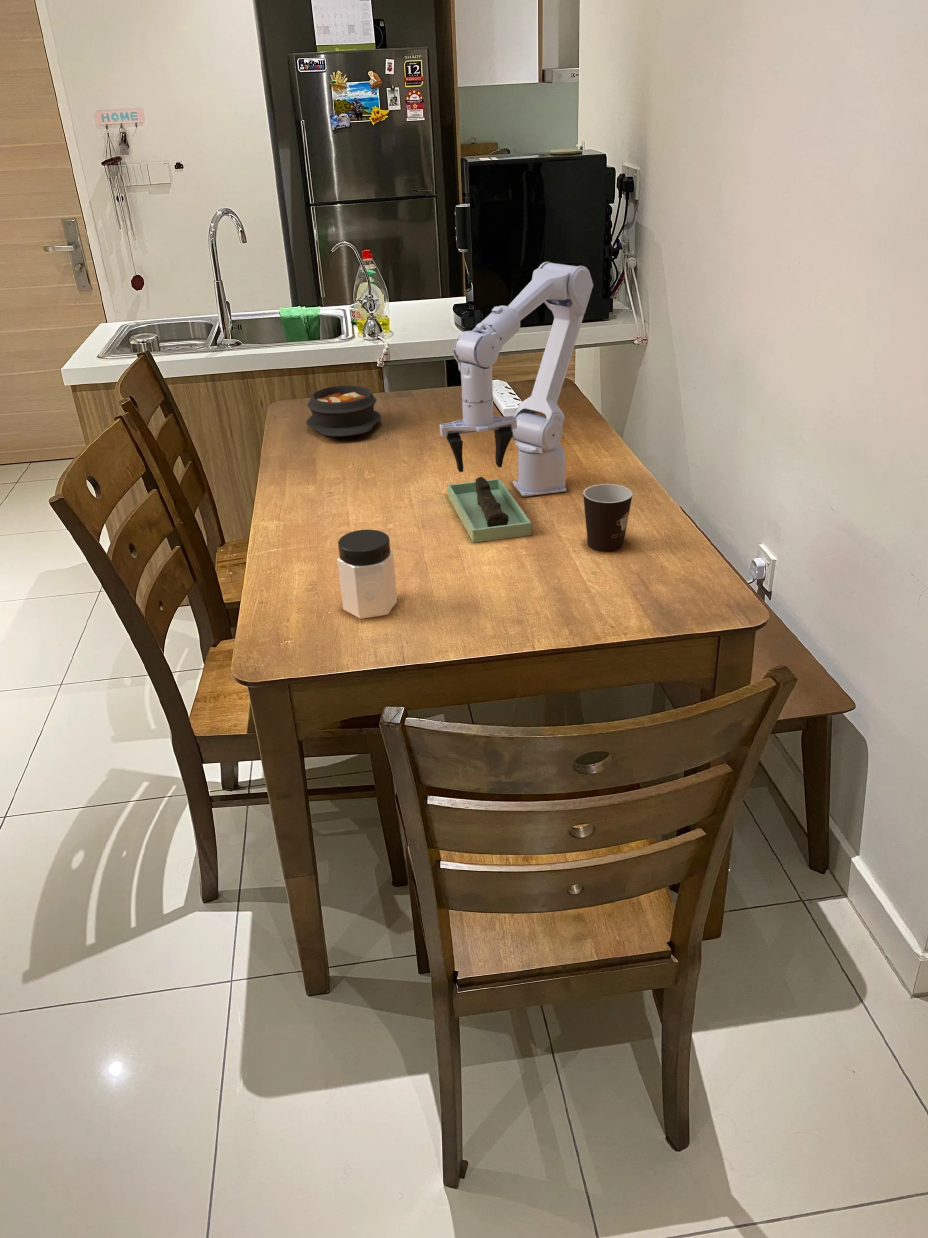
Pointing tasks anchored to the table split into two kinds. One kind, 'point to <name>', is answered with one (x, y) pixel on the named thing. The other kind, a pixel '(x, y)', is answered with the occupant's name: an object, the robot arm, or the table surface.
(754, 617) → the table surface
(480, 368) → the robot arm
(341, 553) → the jar
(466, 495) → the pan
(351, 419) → the casserole
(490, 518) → the hand tool
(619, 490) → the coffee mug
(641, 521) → the table surface
